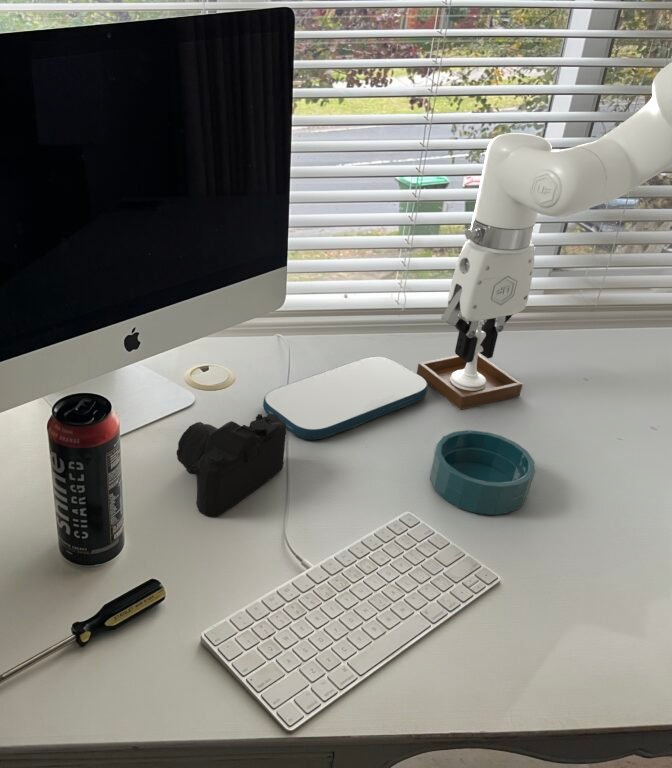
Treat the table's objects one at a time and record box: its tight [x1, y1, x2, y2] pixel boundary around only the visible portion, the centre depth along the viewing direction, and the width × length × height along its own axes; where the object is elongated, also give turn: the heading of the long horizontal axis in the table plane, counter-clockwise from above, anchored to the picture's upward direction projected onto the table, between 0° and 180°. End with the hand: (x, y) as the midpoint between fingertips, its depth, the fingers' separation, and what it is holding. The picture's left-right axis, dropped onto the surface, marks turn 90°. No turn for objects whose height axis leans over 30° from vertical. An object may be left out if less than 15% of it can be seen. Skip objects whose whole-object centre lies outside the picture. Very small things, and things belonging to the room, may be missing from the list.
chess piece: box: [450, 320, 486, 391], centre depth 113 cm, size 5×5×10 cm
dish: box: [429, 429, 536, 516], centre depth 95 cm, size 11×11×4 cm
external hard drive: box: [262, 355, 429, 440], centre depth 112 cm, size 24×12×2 cm, turn 121°
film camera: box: [176, 413, 288, 518], centre depth 95 cm, size 15×10×9 cm, turn 135°
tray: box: [416, 353, 524, 410], centre depth 115 cm, size 10×10×2 cm
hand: (473, 354), depth 113 cm, fingers closed
